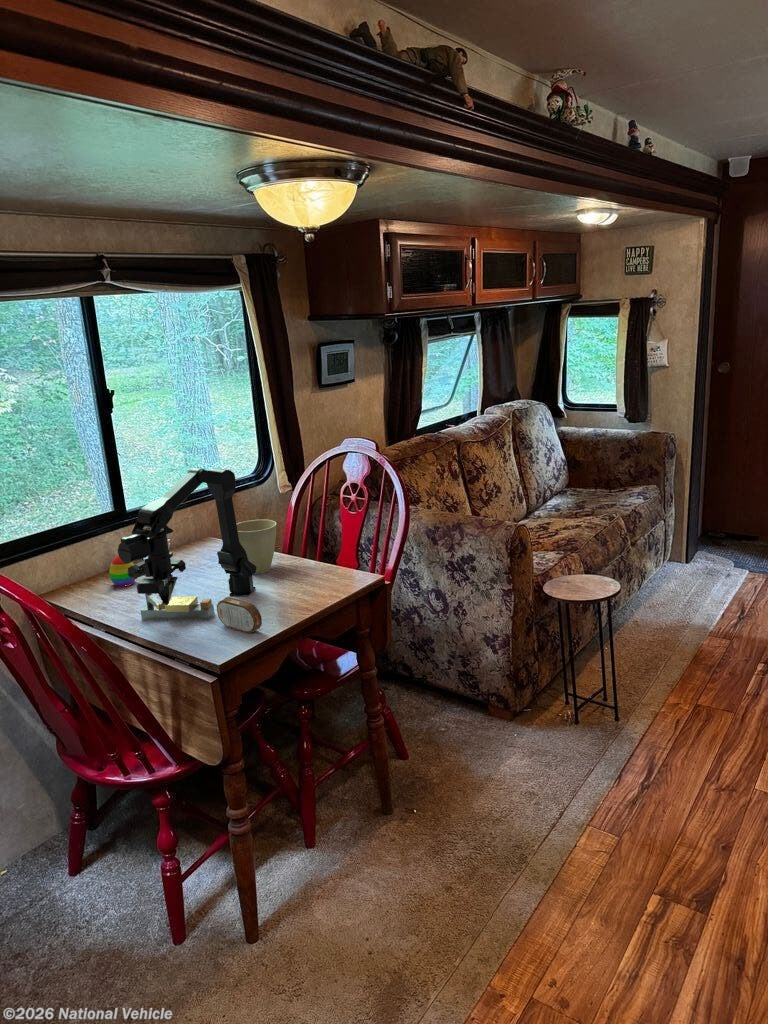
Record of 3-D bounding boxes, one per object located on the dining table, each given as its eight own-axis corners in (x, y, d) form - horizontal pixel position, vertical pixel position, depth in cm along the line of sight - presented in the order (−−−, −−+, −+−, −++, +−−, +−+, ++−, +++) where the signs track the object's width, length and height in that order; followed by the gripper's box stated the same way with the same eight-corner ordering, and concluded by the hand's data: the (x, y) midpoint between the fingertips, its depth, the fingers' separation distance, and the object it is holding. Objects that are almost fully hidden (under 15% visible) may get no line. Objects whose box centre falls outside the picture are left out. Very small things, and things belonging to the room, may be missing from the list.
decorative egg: (107, 589, 228) (103, 559, 226) (116, 580, 236) (111, 552, 233) (133, 587, 228) (128, 558, 226) (140, 578, 236) (136, 550, 234)
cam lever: (166, 617, 194) (164, 601, 193) (160, 618, 193) (158, 603, 192) (152, 604, 204) (150, 590, 203) (146, 606, 203) (144, 591, 202)
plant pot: (286, 563, 244) (281, 518, 240) (273, 578, 230) (268, 531, 226) (244, 563, 246) (239, 519, 242) (229, 578, 232) (224, 531, 228)
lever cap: (198, 602, 204) (197, 596, 204) (189, 611, 198) (188, 605, 197) (175, 602, 205) (174, 596, 204) (165, 611, 199) (164, 605, 198)
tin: (264, 632, 189) (261, 603, 187) (255, 637, 186) (252, 607, 184) (225, 621, 197) (221, 593, 195) (216, 625, 195) (213, 597, 193)
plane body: (214, 613, 203) (212, 597, 202) (208, 620, 199) (206, 603, 198) (148, 613, 206) (146, 597, 205) (141, 620, 202) (139, 603, 200)
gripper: (145, 541, 202) (153, 591, 206) (113, 564, 184) (123, 619, 188) (182, 540, 200) (190, 591, 204) (153, 564, 182) (162, 619, 187)
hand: (166, 604), depth 196 cm, fingers closed
